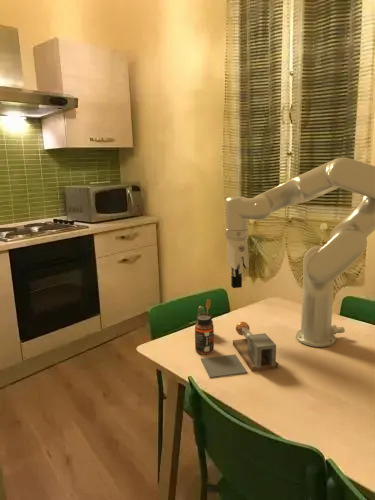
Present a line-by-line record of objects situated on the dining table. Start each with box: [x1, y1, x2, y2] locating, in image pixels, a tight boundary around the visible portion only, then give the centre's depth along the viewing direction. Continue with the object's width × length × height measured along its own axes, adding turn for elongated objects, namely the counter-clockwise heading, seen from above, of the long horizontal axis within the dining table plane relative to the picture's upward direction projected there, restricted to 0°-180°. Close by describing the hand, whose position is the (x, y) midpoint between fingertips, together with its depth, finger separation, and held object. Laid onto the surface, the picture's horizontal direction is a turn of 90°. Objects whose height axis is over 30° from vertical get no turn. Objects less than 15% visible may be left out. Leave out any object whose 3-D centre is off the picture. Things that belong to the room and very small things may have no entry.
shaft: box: [235, 321, 254, 340], centre depth 125 cm, size 15×4×4 cm, turn 11°
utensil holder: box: [195, 298, 214, 325], centre depth 137 cm, size 6×6×12 cm
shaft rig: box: [232, 332, 279, 373], centre depth 121 cm, size 19×8×8 cm, turn 11°
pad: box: [200, 354, 248, 379], centre depth 116 cm, size 11×11×1 cm
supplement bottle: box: [194, 315, 215, 355], centre depth 125 cm, size 6×6×11 cm
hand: (236, 286), depth 135 cm, fingers closed
